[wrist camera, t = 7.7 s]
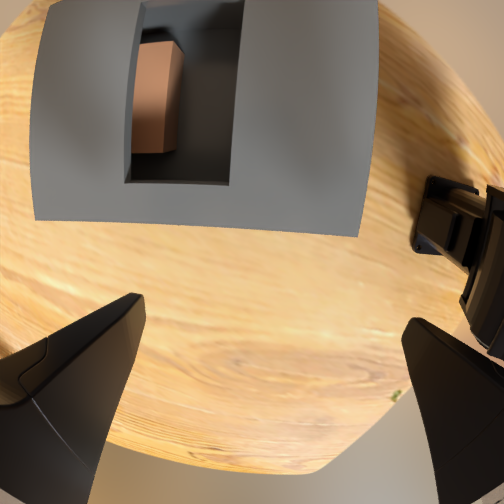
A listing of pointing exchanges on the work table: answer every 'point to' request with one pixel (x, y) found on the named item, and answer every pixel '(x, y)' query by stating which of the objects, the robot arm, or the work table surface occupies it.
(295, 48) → the box
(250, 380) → the work table surface
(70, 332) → the robot arm
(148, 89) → the block
